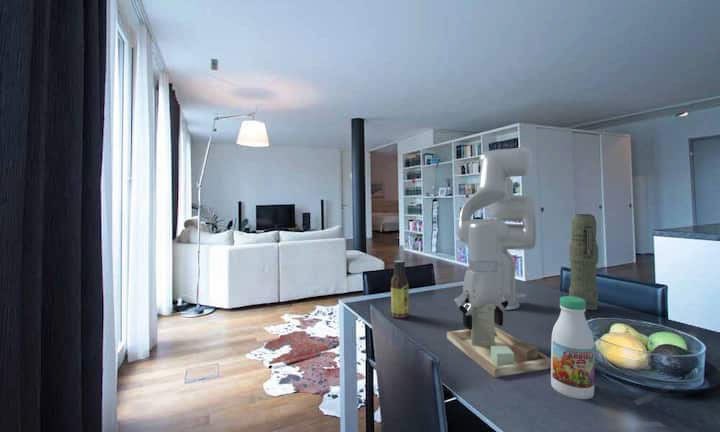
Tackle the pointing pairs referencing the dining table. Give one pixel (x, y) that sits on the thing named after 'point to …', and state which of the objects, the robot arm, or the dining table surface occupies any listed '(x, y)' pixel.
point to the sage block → (501, 355)
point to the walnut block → (524, 352)
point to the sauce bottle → (399, 291)
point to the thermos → (584, 260)
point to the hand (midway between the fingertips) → (483, 326)
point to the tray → (484, 353)
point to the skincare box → (483, 326)
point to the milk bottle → (572, 351)
